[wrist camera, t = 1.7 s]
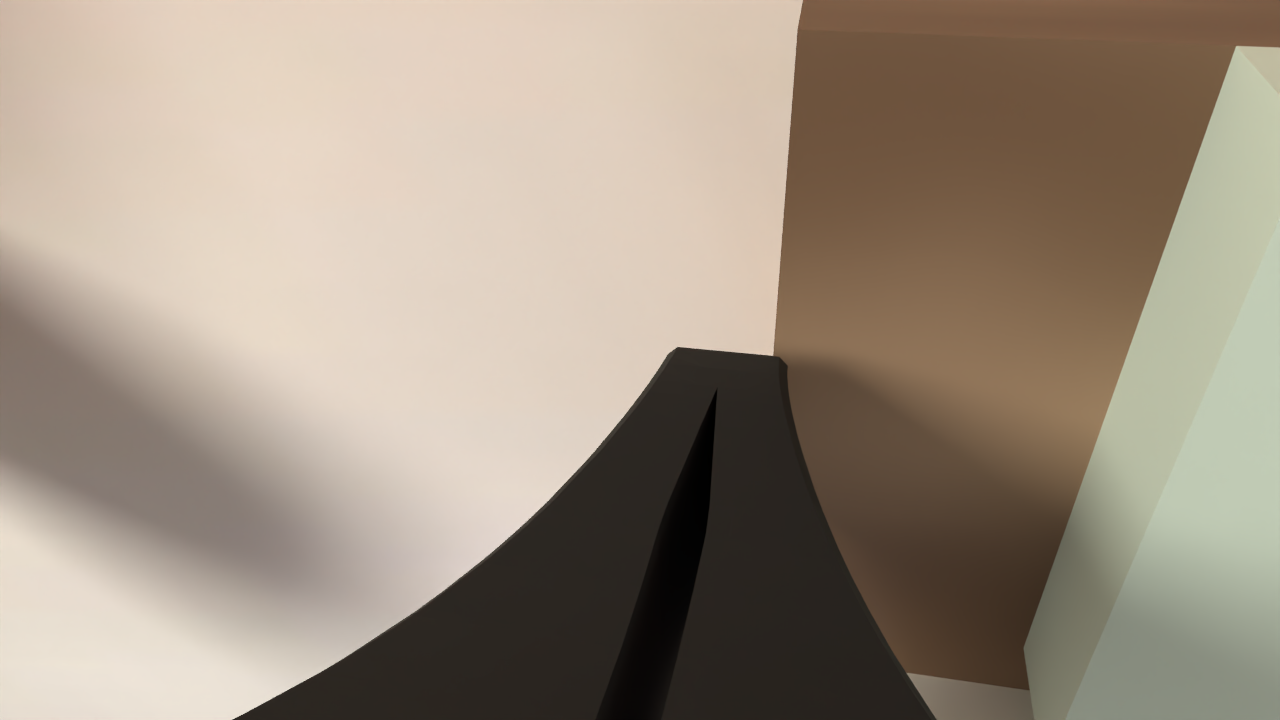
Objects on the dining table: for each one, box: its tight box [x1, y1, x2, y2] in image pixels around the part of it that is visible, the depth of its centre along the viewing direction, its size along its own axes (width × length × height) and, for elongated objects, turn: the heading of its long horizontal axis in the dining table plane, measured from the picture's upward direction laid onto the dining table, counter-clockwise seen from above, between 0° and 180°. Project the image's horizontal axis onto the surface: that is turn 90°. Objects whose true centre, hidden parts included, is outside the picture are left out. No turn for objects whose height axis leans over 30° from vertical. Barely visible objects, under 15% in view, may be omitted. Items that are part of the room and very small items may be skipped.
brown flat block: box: [773, 0, 1280, 691], centre depth 15 cm, size 16×12×4 cm
